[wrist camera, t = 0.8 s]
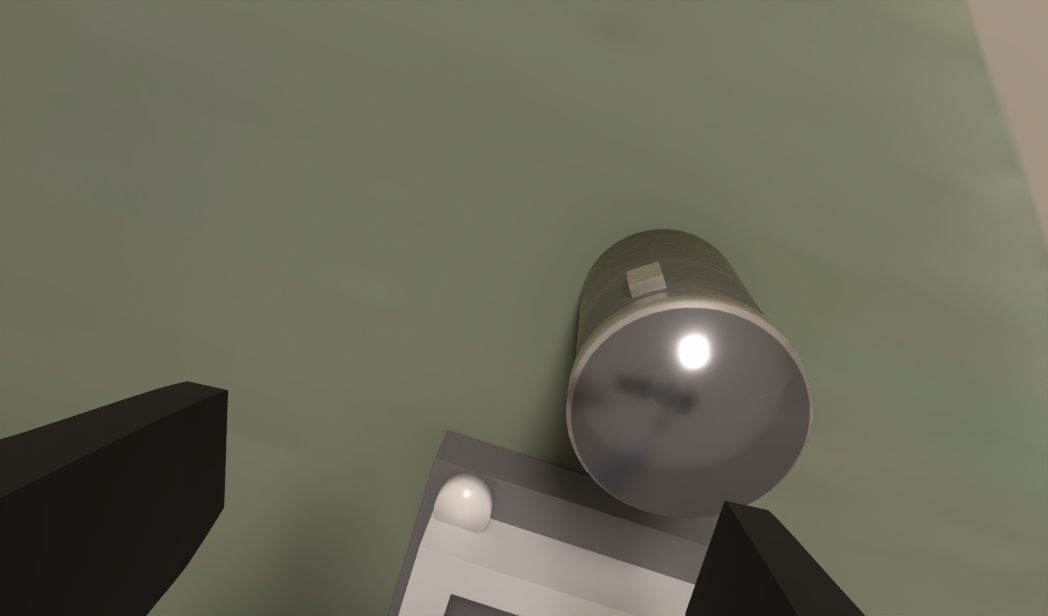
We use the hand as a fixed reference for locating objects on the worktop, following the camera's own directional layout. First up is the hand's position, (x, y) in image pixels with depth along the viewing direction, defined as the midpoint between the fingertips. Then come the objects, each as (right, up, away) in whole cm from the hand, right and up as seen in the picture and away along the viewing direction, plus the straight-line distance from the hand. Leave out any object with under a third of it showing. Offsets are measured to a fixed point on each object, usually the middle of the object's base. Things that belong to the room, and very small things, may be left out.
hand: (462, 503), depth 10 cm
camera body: (+1, -7, +13) cm, 15 cm away
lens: (+5, +3, +9) cm, 11 cm away
